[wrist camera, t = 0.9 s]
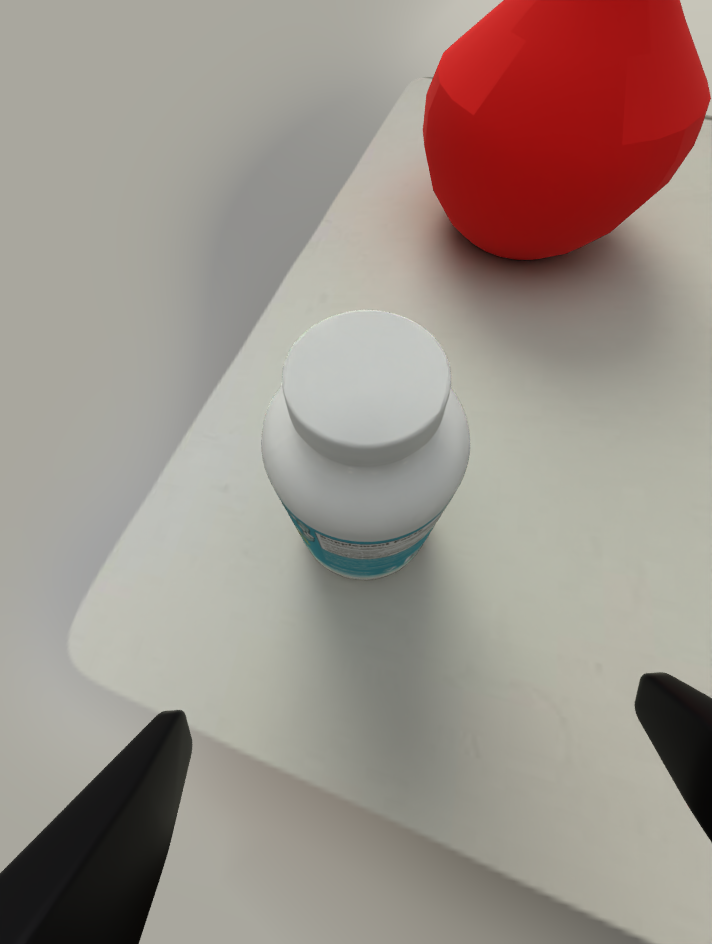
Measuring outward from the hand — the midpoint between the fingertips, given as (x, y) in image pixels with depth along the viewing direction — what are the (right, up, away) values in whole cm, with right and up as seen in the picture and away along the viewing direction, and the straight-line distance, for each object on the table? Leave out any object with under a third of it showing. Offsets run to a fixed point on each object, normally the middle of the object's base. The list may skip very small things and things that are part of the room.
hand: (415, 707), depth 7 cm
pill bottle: (-1, +2, +15) cm, 16 cm away
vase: (+13, +27, +27) cm, 40 cm away
